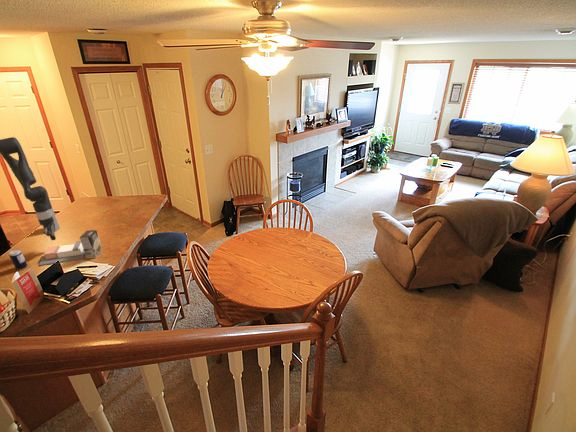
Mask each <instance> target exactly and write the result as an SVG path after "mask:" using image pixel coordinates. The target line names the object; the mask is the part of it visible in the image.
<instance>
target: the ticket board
mask: <svg viewBox="0 0 576 432" xmlns="http://www.w3.org/2000/svg"><path fill="white" fill-rule="evenodd" d="M56 253H57V256H58V257H57V258H51V259H46V258H45V255H44V254H43V257H42V258H41V260H40V262H39V263H38V266H39V267H41V266H49V265H54V263H55V262H56V261H60V263H59V264H61V263H68V262H73V261H79V260H80V261H81V260H84V258H85V257H86V255H85V252H84V249H83V246H82V243H81V240H78V241H76V242H75V243H73V244H66V245H59V249H58V250H57V252H56ZM55 264H56V263H55Z"/></svg>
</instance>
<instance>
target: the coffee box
mask: <svg viewBox="0 0 576 432" xmlns="http://www.w3.org/2000/svg"><path fill="white" fill-rule="evenodd" d="M79 241H81V243H82V246H83V249H84V252H85V257H86V259H96V258H97V257H98V256H99V255H100V254H101V253H102V252H103V247H102V244H101V240H100V237H99V234H98V231H97V230H96V229H91V230H90V229H89V230H86V231H85V232H83V234H82V235H80V237H79Z"/></svg>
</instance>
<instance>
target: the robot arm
mask: <svg viewBox="0 0 576 432" xmlns="http://www.w3.org/2000/svg"><path fill="white" fill-rule="evenodd" d="M13 154H17V156H18V159H16V158H15V157H13V156H12V155H13ZM0 155H1V157H2V158H3V159H4V160H5V162H6V163H7V165H8V167H9V168H10V170H11V171H12V173H13V175H14V177H15V178H16V179H17V181H18V182H19V184H20V186H21V187H22V189H23V194H24V197H25V198H26V199H27V200H29V201H30V202H33V203H32V206H33V209H34V213H35V215H36V218H37V221H38V224H39V225H40V226H42V228H43V229H44V231H43V234H44V235H45V236H47V237H49V238H50V240H51V241H56V239H57V238H56V235H55V232H56V231H58V230H59V229H60V225H59V222H58V219H57V217H56V214H55V211H54V209H53V207H52V206H53V205H52V203H51V201H50V198H49V194H48V191H47V190H46V188H45V187H44V186H42V185H39V186H34V187H31V186H33V185H34V184H36V183H37V179H36V177H35V175H34V172H33V171H32V169H31V167H30V165H29V162H28V159H27V156H26V154H25V152H24V150H23V147H22V145H21V143H20V141H19V140H18V139H17V138H16V137H13V136H12V137H7V138H2V139H0Z"/></svg>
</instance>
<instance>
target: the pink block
mask: <svg viewBox="0 0 576 432" xmlns="http://www.w3.org/2000/svg"><path fill="white" fill-rule="evenodd" d="M59 247H60V245H56V246H50V247H47V248H46V250H45V251H44V254H43V256H44V255H45V258H46V259H51V258H57V257H58V256H57V253H56V252H57V250H58V249H59Z"/></svg>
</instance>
